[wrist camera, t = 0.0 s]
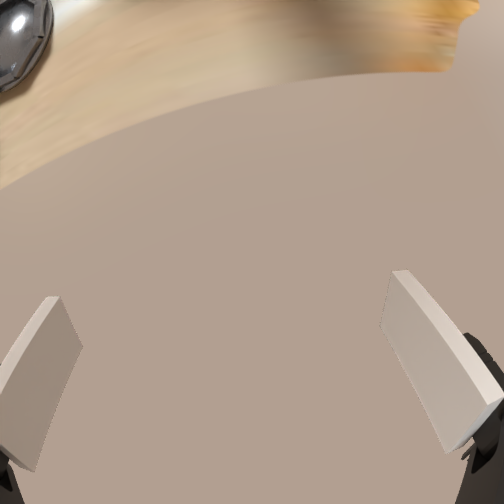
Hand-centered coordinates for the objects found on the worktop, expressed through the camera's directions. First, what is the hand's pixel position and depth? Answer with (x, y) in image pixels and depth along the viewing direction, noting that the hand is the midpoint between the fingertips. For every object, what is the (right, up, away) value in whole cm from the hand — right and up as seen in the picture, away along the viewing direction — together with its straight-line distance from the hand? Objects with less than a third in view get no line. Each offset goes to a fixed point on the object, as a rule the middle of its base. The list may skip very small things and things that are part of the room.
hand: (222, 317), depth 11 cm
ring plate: (-33, +33, +12) cm, 48 cm away
